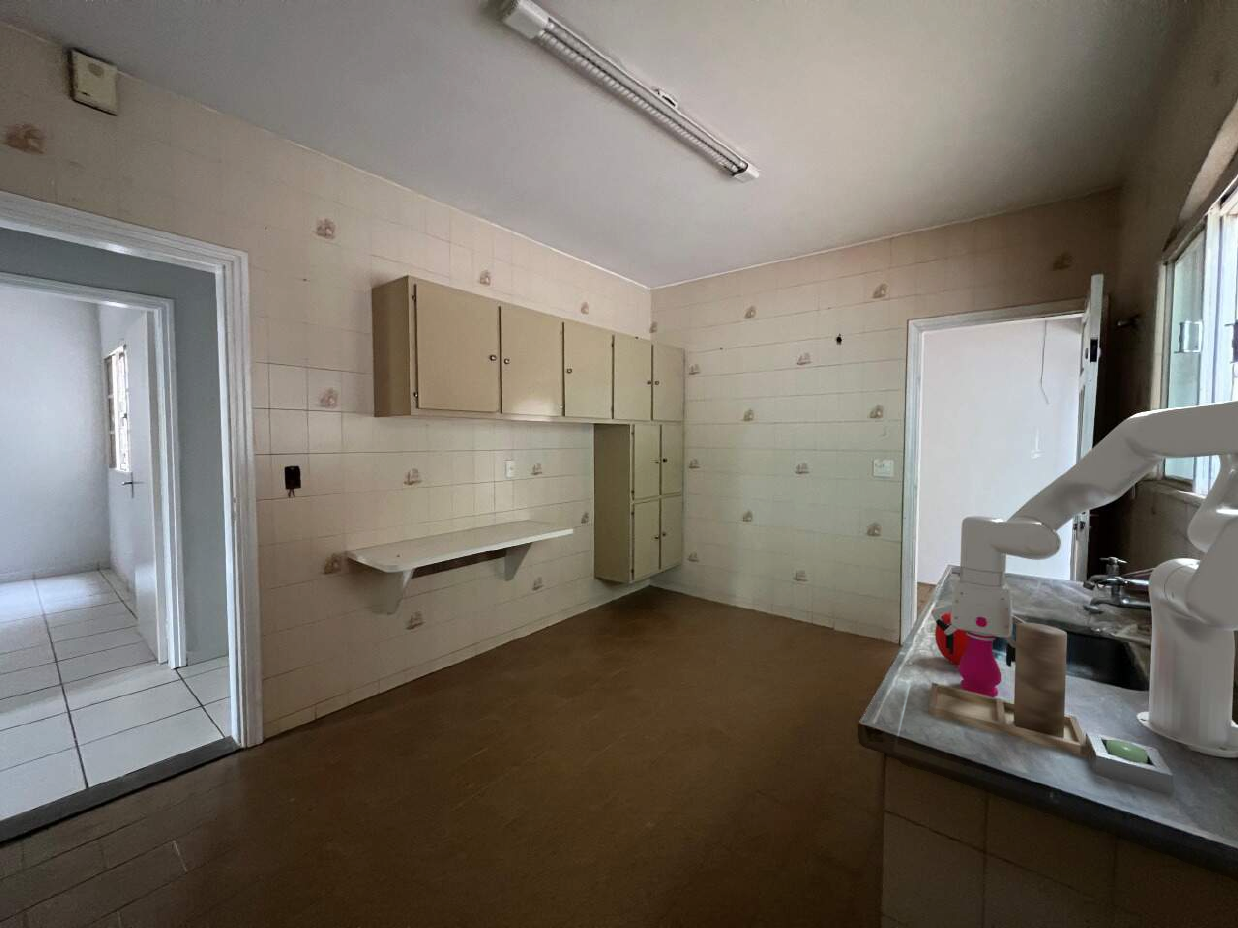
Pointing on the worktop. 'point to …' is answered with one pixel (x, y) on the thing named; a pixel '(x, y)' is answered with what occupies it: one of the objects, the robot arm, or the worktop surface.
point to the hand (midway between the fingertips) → (979, 658)
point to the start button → (1126, 751)
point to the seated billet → (1040, 678)
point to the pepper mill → (980, 664)
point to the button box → (1130, 766)
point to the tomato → (959, 642)
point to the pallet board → (1000, 718)
